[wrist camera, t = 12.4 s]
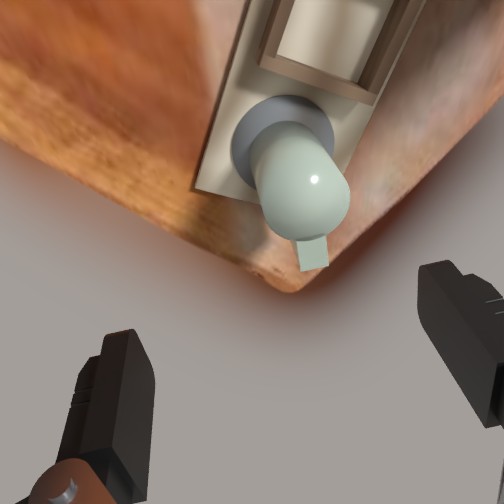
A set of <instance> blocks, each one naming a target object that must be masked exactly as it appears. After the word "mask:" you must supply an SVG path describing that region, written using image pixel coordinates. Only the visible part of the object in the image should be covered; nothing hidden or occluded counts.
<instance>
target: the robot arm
mask: <svg viewBox="0 0 504 504" xmlns="http://www.w3.org/2000/svg"><path fill="white" fill-rule="evenodd" d="M417 309H418V315H419V319H420V322H421V324H422V326H423V328H424V330H425V332H426V333H427V335H428V337H429V338H430V340H431V341H432V343H433V345H434V346H435V348H436V349H437V351H438V353H439V354H440V356H441V357H442V359H443V361H444V363H445V364H446V366H447V367H448V369H449V371H450V372H451V374H452V375H453V377H454V379H455V380H456V382H457V384H458V385H459V387H460V388H461V390H462V392H463V393H464V395H465V396H466V398H467V400H468V401H469V403H470V404H471V406H472V408H473V409H474V411H475V413H476V414H477V416H478V417H479V419H480V421H481V422H482V424H483V426H484V427H485V428H489V427H494V426H499V425H501V426H502V427H503V429H504V299H503V297H502V296H501V294H499V292H498V291H497V290H496V289H495V288H494V287H493V286H492V284H490V283H489V282H487V281H485V280H483V279H481V278H480V277H478V276H476V275H474V274H468V275H464V276H463V275H462V274H461V273H460V271H459V270H458V269H457V268H456V266H455V265H454V264H453V263H452V262H451V261H449V260H445V261H440V262H435V263H430V264H426V265H421V266H420V267H419V271H418V301H417ZM74 391H75V394H73V398H72V402H71V408H70V409H69V413H68V417H67V421H66V425H65V429H64V433H63V436H62V440H61V444H60V448H59V452H58V456H57V460H56V463H55V465H53V466H52V467H50V468H49V469H48V470H46V471H45V472H44V473H43V474H42V476H41V477H40V478H39V479H38V480H37V482H36V483H35V485H34V486H33V488H32V491H31V493H30V495H29V496H28V497H26V498H25V499H23V500H21V501H19V502H17V503H16V504H133V503H138V502H143V501H146V500H147V487H148V473H149V460H150V448H151V447H150V446H151V434H152V421H153V408H154V395H155V377H154V372H153V368H152V365H151V363H150V360H149V358H148V356H147V354H146V352H145V350H144V348H143V345H142V343H141V341H140V339H139V337H138V335H137V333H136V331H135V330H134V329H129V330H124V331H120V332H115V333H111V334H107V335H106V336H105V337H104V340H103V345H102V349H101V354H100V355H98V356H94V357H90V358H89V359H88V361H87V362H86V364H85V365H84V367H83V368H82V370H81V371H80V373H79V375H78V378H77V383H76V386H75V390H74ZM497 504H504V462H503V467H502V473H501V480H500V486H499V493H498V499H497Z"/></svg>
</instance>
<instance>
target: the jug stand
mask: <svg viewBox="0 0 504 504" xmlns="http://www.w3.org/2000/svg"><path fill="white" fill-rule="evenodd" d="M426 1H427V0H250V3H249V6H248V10H247V13H246V16H245V20H244V23H243V26H242V30H241V33H240V36H239V40H238V43H237V46H236V49H235V53H234V56H233V59H232V63H231V66H230V69H229V73H228V76H227V79H226V83H225V86H224V89H223V93H222V96H221V99H220V103H219V106H218V109H217V113H216V116H215V119H214V123H213V126H212V129H211V132H210V136H209V139H208V142H207V146H206V149H205V152H204V156H203V159H202V162H201V166H200V169H199V172H198V176H197V179H196V182H195V188H196V189H200V190H204V191H207V192H211V193H215V194H219V195H223V196H227V197H230V198H234V199H238V200H242V201H246V202H250V203H254V204H257V205H261V203H260V199H259V196H258V192H257V188H256V185H255V181H254V178H253V174H252V170H251V167H250V162H249V153H250V148H251V145H252V143H253V141H254V139H255V138H256V136H257V135H258V134H259V133H260V132H261V131H262V130H263V129H264V128H266V127H267V126H269V125H271V124H273V123H276V122H279V121H296V122H299V123H302V124H304V125H306V126H307V127H309V128H310V129H311V130H312V131H313V132H314V134H315V135H316V137H317V138H318V140H319V141H320V143H321V144H322V146H323V147H324V149H325V150H326V152H327V153H328V154H329V156H330V157H331V159H332V160H333V162H334V163H335V165H336V166H337V168H338V169H339V171H340V172H341V174H342V175H343V174H344V172H345V170H346V168H347V166H348V164H349V162H350V159H351V157H352V155H353V153H354V151H355V149H356V147H357V145H358V143H359V141H360V139H361V137H362V134H363V132H364V130H365V128H366V126H367V124H368V122H369V120H370V118H371V116H372V114H373V112H374V109H375V107H376V105H377V103H378V101H379V99H380V97H381V95H382V93H383V91H384V89H385V87H386V84H387V82H388V80H389V78H390V76H391V74H392V72H393V70H394V68H395V66H396V64H397V61H398V59H399V57H400V55H401V53H402V51H403V49H404V47H405V45H406V43H407V41H408V39H409V36H410V34H411V32H412V30H413V28H414V26H415V24H416V22H417V20H418V18H419V16H420V14H421V11H422V9H423V7H424V5H425V3H426Z"/></svg>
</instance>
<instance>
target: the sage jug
mask: <svg viewBox="0 0 504 504" xmlns="http://www.w3.org/2000/svg"><path fill="white" fill-rule="evenodd" d="M249 162H250V167H251V170H252V174H253V178H254V181H255V185H256V188H257V192H258V196H259V199H260V203H261V206H262V210H263V214H264V217H265V220H266V222H267V224H268V225H269V227H270V228H271V229H272V230H273V231H274V232H275V233H276V234H277V235H279V236H281V237H283V238H285V239H288V240H290V242H291V245H292V248H293V250H294V253H295V256H296V259H297V262H298V265H299V268H300V271H301V272H302V271H307V270H311V269H316V268H321V267H325V266H329V262H328V252H327V242H326V235H327V234H328V233H330V232H331V231H333V230H334V229H335V228H336V227H337V226H338V225H339V224H340V223H341V221H342V220H343V219H344V217H345V215H346V213H347V211H348V208H349V204H350V190H349V186H348V184H347V182H346V180H345V178H344V177H343V175H342V174H341V172H340V171H339V169H338V168H337V166H336V165H335V163H334V162H333V160H332V159H331V157H330V156H329V154H328V153H327V152H326V150H325V149H324V147H323V146H322V144H321V143H320V141H319V140H318V138H317V137H316V135H315V134H314V132H313V131H312V130H311V129H310V128H309V127H307V126H306V125H304V124H302V123H299V122H296V121H279V122H276V123H273V124H271V125H269V126H267V127H266V128H264V129H263V130H262V131H261V132H260V133H259V134H258V135H257V136H256V138H255V139H254V141H253V143H252V145H251V148H250V153H249Z"/></svg>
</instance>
